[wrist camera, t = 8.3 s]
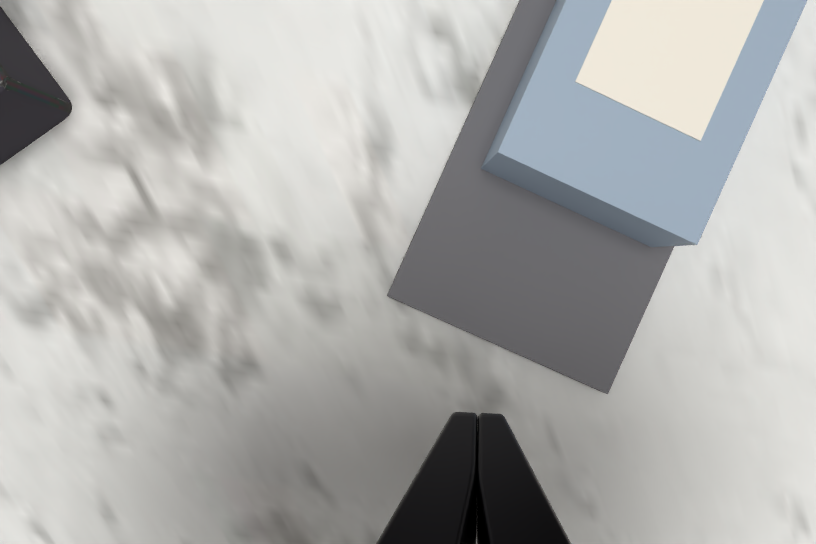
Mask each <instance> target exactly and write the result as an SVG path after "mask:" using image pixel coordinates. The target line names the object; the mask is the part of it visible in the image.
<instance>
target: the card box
mask: <svg viewBox="0 0 816 544" xmlns="http://www.w3.org/2000/svg"><path fill="white" fill-rule="evenodd" d="M806 2H807V0H556V3H555V5H554V7H553V9H552V12H551V14H550V16H549V18H548V20H547V23H546V25H545V27H544V29H543V32H542V34H541V36H540V38H539V40H538V43H537V45H536V47H535V49H534V52H533V54H532V56H531V58H530V61H529V63H528V65H527V67H526V69H525V72H524V74H523V76H522V78H521V81H520V83H519V85H518V87H517V89H516V92H515V94H514V96H513V98H512V101H511V103H510V105H509V107H508V109H507V112H506V114H505V116H504V118H503V121H502V123H501V125H500V127H499V129H498V132H497V134H496V136H495V138H494V141H493V143H492V145H491V147H490V149H489V152H488V154H487V156H486V158H485V161H484V163H483V165H482V167H481V169H483V170H485V171H487V172H489V173H492V174H494V175H496V176H498V177H500V178H502V179H505V180H507V181H509V182H511V183H513V184H515V185H518V186H520V187H522V188H524V189H526V190H528V191H531V192H533V193H535V194H537V195H539V196H541V197H544V198H546V199H548V200H550V201H552V202H554V203H557V204H559V205H561V206H563V207H565V208H567V209H570V210H572V211H574V212H576V213H578V214H580V215H582V216H585V217H587V218H589V219H591V220H593V221H595V222H598V223H600V224H602V225H604V226H606V227H608V228H611V229H613V230H615V231H617V232H619V233H621V234H624V235H626V236H628V237H630V238H632V239H634V240H637V241H639V242H641V243H643V244H645V245H647V246H650V247H664V246H683V245H697V244H698V242H699V240H700V238H701V235H702V233H703V231H704V229H705V226H706V224H707V222H708V220H709V218H710V215H711V213H712V211H713V209H714V206H715V204H716V202H717V200H718V198H719V195H720V193H721V191H722V189H723V186H724V184H725V182H726V180H727V178H728V175H729V173H730V171H731V169H732V166H733V164H734V162H735V160H736V158H737V155H738V153H739V151H740V149H741V146H742V144H743V142H744V140H745V138H746V135H747V133H748V131H749V129H750V127H751V124H752V122H753V120H754V118H755V115H756V113H757V111H758V109H759V107H760V104H761V102H762V100H763V98H764V95H765V93H766V91H767V89H768V87H769V84H770V82H771V80H772V78H773V75H774V73H775V71H776V69H777V67H778V64H779V62H780V60H781V58H782V55H783V53H784V51H785V49H786V47H787V44H788V42H789V40H790V38H791V35H792V33H793V31H794V29H795V27H796V24H797V22H798V20H799V18H800V15H801V13H802V11H803V9H804V7H805V4H806Z"/></svg>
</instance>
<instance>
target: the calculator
mask: <svg viewBox="0 0 816 544" xmlns="http://www.w3.org/2000/svg"><path fill="white" fill-rule="evenodd" d="M71 110H72V105H71V102H70V100H69V98H68V97H67V96H66V94H65V93H64V92H63V90H62V89H61V87H60V86H59V85H58V83H57V82H56V81H55V79H54V78H53V77H52V75H51V74H50V73H49V71H48V70H47V69H46V67H45V66H44V65H43V63H42V62H41V61H40V59H39V58H38V57H37V55H36V54H35V53H34V51H33V50H32V48H31V47H30V46H29V44H28V43H27V42H26V40H25V39H24V38H23V36H22V35H21V34H20V32H19V31H18V30H17V28H16V27H15V26H14V24H13V23H12V22H11V20H10V19H9V18H8V16H7V15H6V14H5V12H4V11H3V10H2V8H1V7H0V165H1V164H2V163H4V162H5V161H7V160H8V159H9V158H11V157H12V156H14V155H15V154H16V153H18V152H19V151H21V150H22V149H24V148H25V147H26V146H28V145H29V144H31V143H32V142H33V141H35V140H36V139H38V138H39V137H40V136H42V135H43V134H45V133H46V132H48V131H49V130H50V129H52V128H53V127H55V126H56V125H57V124H59V123H60V122H62V121H63V120H64V119H66V118H67V117H68V116H69V115H70V113H71Z"/></svg>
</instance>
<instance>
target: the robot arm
mask: <svg viewBox="0 0 816 544" xmlns="http://www.w3.org/2000/svg"><path fill="white" fill-rule="evenodd" d="M476 538H477V544H571V542H570V541H569V539H568V537H567V535H566V533H565V531H564V529H563V527H562V525H561V523H560V522H559V520H558V518H557V516H556V514H555V512H554V510H553V508H552V506H551V504H550V503H549V501H548V499H547V497H546V495H545V493H544V491H543V489H542V487H541V485H540V483H539V482H538V480H537V478H536V476H535V474H534V472H533V470H532V468H531V466H530V464H529V463H528V461H527V459H526V457H525V455H524V453H523V451H522V449H521V447H520V445H519V444H518V442H517V440H516V438H515V436H514V434H513V432H512V430H511V428H510V426H509V424H508V423H507V421H506V419H505V417H504V416H503V415H501V414H492V413H481V414H479V416H478V418H477V415H476V414H475V413H467V412H454V413H453V414H452V415H451V416H450V418H449V419H448V421H447V423H446V425H445V426H444V428H443V430H442V431H441V433H440V435H439V437H438V438H437V440H436V442H435V443H434V445H433V447H432V449H431V450H430V452H429V454H428V456H427V457H426V459H425V461H424V462H423V464H422V466H421V468H420V469H419V471H418V473H417V475H416V476H415V478H414V480H413V481H412V483H411V485H410V487H409V488H408V490H407V492H406V493H405V495H404V497H403V499H402V500H401V502H400V504H399V506H398V507H397V509H396V511H395V512H394V514H393V516H392V518H391V519H390V521H389V523H388V524H387V526H386V528H385V530H384V531H383V533H382V535H381V537H380V538H379V540H378V542H377V543H376V544H476Z"/></svg>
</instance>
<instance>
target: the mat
mask: <svg viewBox="0 0 816 544" xmlns="http://www.w3.org/2000/svg"><path fill="white" fill-rule="evenodd" d="M555 3H556V0H520V1H519V3H518V6H517V8H516V10H515V12H514V15H513V17H512V19H511V21H510V23H509V26H508V28H507V30H506V32H505V35H504V37H503V39H502V41H501V43H500V46H499V48H498V50H497V52H496V55H495V57H494V59H493V61H492V64H491V66H490V68H489V70H488V72H487V75H486V77H485V79H484V81H483V84H482V86H481V88H480V90H479V92H478V95H477V97H476V99H475V101H474V104H473V106H472V108H471V110H470V112H469V115H468V117H467V119H466V121H465V124H464V126H463V128H462V130H461V132H460V135H459V137H458V139H457V141H456V144H455V146H454V148H453V150H452V152H451V155H450V157H449V159H448V161H447V164H446V166H445V168H444V170H443V172H442V175H441V177H440V179H439V181H438V184H437V186H436V188H435V190H434V193H433V195H432V197H431V199H430V201H429V204H428V206H427V208H426V210H425V213H424V215H423V217H422V219H421V221H420V224H419V226H418V228H417V230H416V233H415V235H414V237H413V239H412V241H411V244H410V246H409V248H408V250H407V253H406V255H405V257H404V259H403V261H402V264H401V266H400V268H399V270H398V273H397V275H396V277H395V279H394V281H393V284H392V286H391V288H390V290H389V293H388V295H387V296H389V297H391V298H393V299H395V300H398V301H400V302H402V303H404V304H407V305H409V306H411V307H413V308H416V309H418V310H420V311H422V312H424V313H427V314H429V315H431V316H433V317H436V318H438V319H440V320H442V321H445V322H447V323H449V324H451V325H454V326H456V327H458V328H460V329H463V330H465V331H467V332H469V333H471V334H474V335H476V336H478V337H480V338H483V339H485V340H487V341H489V342H492V343H494V344H496V345H498V346H501V347H503V348H505V349H507V350H510V351H512V352H514V353H516V354H519V355H521V356H523V357H525V358H527V359H530V360H532V361H534V362H536V363H539V364H541V365H543V366H545V367H548V368H550V369H552V370H554V371H557V372H559V373H561V374H563V375H566V376H568V377H570V378H572V379H575V380H577V381H579V382H581V383H583V384H586V385H588V386H590V387H592V388H595V389H597V390H599V391H601V392H604V393H606V394H608V392H609V390H610V388H611V386H612V383H613V381H614V379H615V377H616V374H617V372H618V370H619V368H620V366H621V363H622V361H623V359H624V357H625V354H626V352H627V350H628V348H629V346H630V343H631V341H632V339H633V337H634V334H635V332H636V330H637V328H638V326H639V323H640V321H641V319H642V317H643V314H644V312H645V310H646V308H647V306H648V303H649V301H650V299H651V297H652V294H653V292H654V290H655V288H656V286H657V283H658V281H659V279H660V277H661V274H662V272H663V270H664V268H665V266H666V263H667V261H668V259H669V257H670V254H671V252H672V250H673V248H674V246H664V247H650V246H647V245H645V244H643V243H641V242H639V241H637V240H634V239H632V238H630V237H628V236H626V235H624V234H621V233H619V232H617V231H615V230H613V229H611V228H608V227H606V226H604V225H602V224H600V223H598V222H595V221H593V220H591V219H589V218H587V217H585V216H582V215H580V214H578V213H576V212H574V211H572V210H570V209H567V208H565V207H563V206H561V205H559V204H557V203H554V202H552V201H550V200H548V199H546V198H544V197H541V196H539V195H537V194H535V193H533V192H531V191H528V190H526V189H524V188H522V187H520V186H518V185H515V184H513V183H511V182H509V181H507V180H505V179H502V178H500V177H498V176H496V175H494V174H492V173H489V172H487V171H485V170H483V169H481V167H482V165H483V163H484V161H485V158H486V156H487V154H488V152H489V149H490V147H491V145H492V143H493V141H494V138H495V136H496V134H497V132H498V129H499V127H500V125H501V123H502V121H503V118H504V116H505V114H506V112H507V109H508V107H509V105H510V103H511V101H512V98H513V96H514V94H515V92H516V89H517V87H518V85H519V83H520V81H521V78H522V76H523V74H524V72H525V69H526V67H527V65H528V63H529V61H530V58H531V56H532V54H533V52H534V49H535V47H536V45H537V43H538V40H539V38H540V36H541V34H542V32H543V29H544V27H545V25H546V23H547V20H548V18H549V16H550V14H551V12H552V9H553V7H554V5H555Z"/></svg>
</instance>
